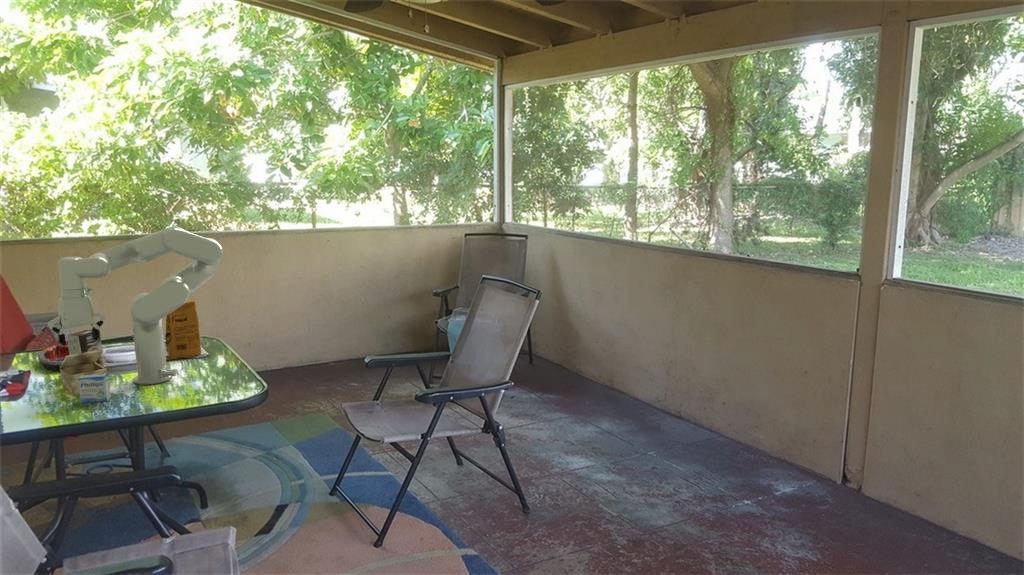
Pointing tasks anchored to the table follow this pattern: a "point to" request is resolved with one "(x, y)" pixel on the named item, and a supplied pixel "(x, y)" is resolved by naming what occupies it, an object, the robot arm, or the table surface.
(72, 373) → the carton
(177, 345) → the coffee package
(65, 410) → the table surface
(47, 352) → the dish
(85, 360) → the carton lid
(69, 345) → the coffee box
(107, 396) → the medicine box
